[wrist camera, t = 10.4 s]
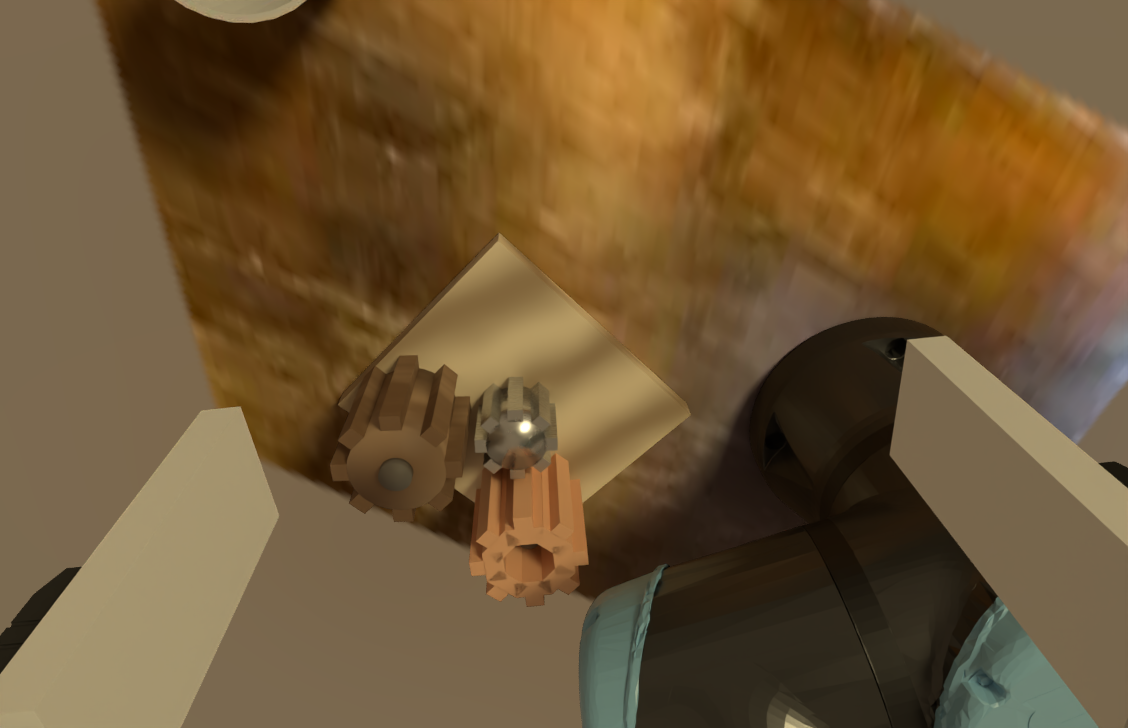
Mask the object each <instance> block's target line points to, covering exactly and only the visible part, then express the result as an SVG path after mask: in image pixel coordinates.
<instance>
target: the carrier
mask: <svg viewBox="0 0 1128 728" xmlns="http://www.w3.org/2000/svg"><path fill="white" fill-rule="evenodd" d="M405 355H418V362H419V368H420V369H425V370H428V371H431V372H433V373H436V372H437V371H438V370H439V369H440V368H441V367H442V366H443V365H444V364H445V365H446V366H448V367H449V368H450V369H451V370H453V371H454V372H455V373H456V374H458V377H457V382H456V388H455V396H470V403H471V415H470V423H469V430H468V438H467V446H466V453H465V461H464V468H463V476H462V477H461V478H456V480H455V487H454V488H455V489H456V490H457V491H459V492H460V493H462V494H463V495H464V496H466V497H467V498H469V499H470V500H471V501H473V502H474V503H475V498H476V489H481V481H482V471H483V469H484V468H485V467H484V466H483V461H484V453H475V441H474V440H475V431H476V423H477V414H478V406H479V405H483V397H484V391H485V390H486V389H487V388H489V387H490V386H491V385H492V384H493V383H495V384H496V385H497V386H498V387H500V388H501V389H504V388H506V387H508V382H509V377H523V386H524V387H528V388H530V389H531V388H532V387H533V386H534V385H536V384H537V383H538V382H540V383H541V384H542V385H543V386H544V387H546V388H547V389H548V390H549V403H555V407H556V422H557V437H558V451H551V457H552V456H553V455H554V454H555V453H557V454H558V455H560V456H561V457H563V458H564V459H566V460H567V461H568V463H569V475H570V480H575V479H580V486H581V495H582V503H583V502H584V501H586V500H587V499H588V498H589V497H591V496H592V495H593V494H594V493H595V492H597V491H598V490H599V489H600V488H602V487H603V486H604V485H605V484H606V483H608V482H609V481H610V480H611V479H613V478H614V477H615V476H616V475H618V474H619V473H620V472H621V471H622V470H624V469H625V468H626V467H627V466H629V465H630V464H631V463H632V462H633V461H635V460H636V459H637V458H638V457H640V456H641V455H642V454H643V453H644V452H646V451H647V450H648V449H649V448H651V447H652V446H653V445H654V444H656V443H657V442H658V441H659V440H660V439H662V438H663V437H664V436H665V435H667V434H668V433H669V432H670V431H671V430H673V429H674V428H675V427H676V426H678V425H679V424H680V423H681V422H683V421H684V420H685V419H686V418H687V417H689V416H690V415H691V414H690V411H689V409H688V406H687V403H686V402H685V401H684V400H683V399H681V398H680V397H679V396H678V395H677V394H676V393H675V392H674V391H673V390H672V389H670V388H669V387H668V386H667V385H666V384H665V383H664V382H663V381H662V380H661V379H659V378H658V377H657V376H656V375H655V374H654V373H653V372H652V371H651V370H650V369H648V368H647V367H646V366H645V365H644V364H643V363H642V362H641V361H640V360H639V359H638V358H636V357H635V356H634V355H633V354H632V353H631V352H630V351H629V350H628V349H627V348H625V347H624V346H623V345H622V344H621V343H620V342H619V341H618V340H617V339H616V338H614V337H613V336H612V335H611V334H610V333H609V332H608V331H607V330H606V329H605V328H603V327H602V326H601V325H600V324H599V323H598V322H597V321H596V320H595V319H594V318H592V317H591V316H590V315H589V314H588V313H587V312H586V311H585V310H584V309H583V308H581V307H580V306H579V305H578V304H577V303H576V302H575V301H574V300H573V299H572V298H571V297H569V296H568V295H567V294H566V293H565V292H564V291H563V290H562V289H561V288H560V287H558V286H557V285H556V284H555V283H554V282H553V281H552V280H551V279H550V278H549V277H547V276H546V275H545V274H544V273H543V272H542V271H541V270H540V269H539V268H538V267H536V266H535V265H534V264H533V263H532V262H531V261H530V260H529V259H528V258H527V257H525V256H524V255H523V254H522V253H521V252H520V251H519V250H518V249H517V248H516V247H514V246H513V245H512V244H511V243H510V242H509V241H508V240H507V239H506V238H505V237H504V236H502V235H501V234H500V233H498V234H497V235H496V236H495V237H494V238H493V239H492V240H491V241H490V242H489V243H488V245H487V246H486V247H485V248H484V249H483V250H482V251H481V252H480V253H479V254H478V255H477V256H476V257H475V258H474V259H473V260H472V261H471V262H470V263H469V264H468V265H467V266H466V267H465V268H464V269H463V270H462V271H461V272H460V273H459V274H458V275H457V276H456V277H455V278H454V279H453V281H452V282H451V283H450V284H449V285H448V286H447V287H446V288H445V289H444V290H443V291H442V292H441V293H440V294H439V295H438V296H437V297H436V298H435V299H434V300H433V301H432V302H431V303H430V304H429V305H428V306H427V307H426V308H425V309H424V310H423V311H422V312H421V313H420V314H419V315H418V316H417V318H416V319H415V320H414V321H413V322H412V323H411V324H410V325H409V326H408V327H407V328H406V329H405V330H404V331H403V332H402V333H401V334H400V335H399V336H398V337H397V338H396V339H395V340H394V341H393V342H392V343H391V344H390V345H389V346H388V347H387V348H386V349H385V350H384V351H383V352H382V354H381V355H380V356H379V357H378V358H377V359H376V360H375V361H374V362H373V363H372V364H371V365H370V366H369V367H368V368H367V369H366V370H365V371H364V372H363V373H362V374H361V375H360V376H359V377H358V378H357V379H356V380H355V381H354V382H353V383H352V384H351V385H350V386H349V387H348V388H347V390H346V391H345V392H344V393H343V394H342V397H341V399H340V401H339V403H338V406H340V407H341V408H343V409H344V410H345V411H347V412H348V413H349V412H350V409H351V407H352V405H353V402H354V400H355V397H356V395H357V393H358V390H359V388H360V385H361V383H362V381H363V378H364V376H365V375H366V374H367V373H368V372H369V371H370V370H371V369H372V368H373V367H374V366H376V367H378V368H379V369H380V370H382V371H383V372H384V373H386V374H388V373H390V372H392V371H394V370H395V368H396V365H397V362H398V359H399V356H405ZM519 546H520V547H522V548H524V549H533V548H535V547H537V546H538V544H528V545H519Z"/></svg>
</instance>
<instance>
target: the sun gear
mask: <svg viewBox="0 0 1128 728" xmlns="http://www.w3.org/2000/svg"><path fill="white" fill-rule="evenodd" d="M474 441H475V453H484V461H483V466H484V467H485V468H487V469H488V470H489V471H491V472H492V473H493V474H495V473H496V472H497V471H498V470H499V469H500V468H502V467H503V468H506V469H510V479H525V469H527V468H530V467H532V466H533V467H534V468H535V469H537V470H538V471H539V472H540V473H541V472H542V471H543V470H545V469H546V468H547V467H548V466H549V465H550V464H551V451H558V437H557V422H556V407H555V403H549V390H548V389H547V388H546V387H544V386H543V385H542V384H541V383H540V382H538V383H537V384H536V385H534V386H533V387H532V388H531V389H530V388H528V387H524V386H523V377H509V382H508V387H506V388H504V389H501V388H500V387H498V386H497V385H496V384H495V383H493V384H492V385H491V386H490V387H489V388H487V389H486V390H485V391H484V397H483V405H479V406H478V414H477V423H476V431H475V440H474Z"/></svg>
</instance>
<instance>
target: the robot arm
mask: <svg viewBox="0 0 1128 728" xmlns="http://www.w3.org/2000/svg"><path fill="white" fill-rule="evenodd" d="M750 444H751V448H752V452H753V455H754V458H755V460H756V462H757V465H758V467H759V469H760V471H761V473H762V475H763V477H764V479H765V481H766V482H767V484H768V486H769V487H770V488H771V490H772V491H773V492H774V493H775V495H776V496H777V497H778V498H779V499H780V500H781V501H782V502H783V503H784V504H786V505H787V506H788V507H789V508H791V509H792V510H793V511H794V512H796V513H797V514H798V515H799V516H801V517H802V518H803V519H804V520H806V521H807V522H808V523H809V524H807V525H804V526H799V527H795V528H792V529H789V530H786V531H783V532H780V533H777V534H774V535H771V536H768V537H765V538H762V539H759V540H755V541H752V542H749V543H746V544H743V545H740V546H737V547H734V548H730V549H727V550H724V551H721V552H717V553H714V554H711V555H707V556H704V557H701V558H698V559H694V560H691V561H688V562H684V563H681V564H678V565H674V566H671V567H670V566H669V565H668V564H664V565H660V566H658V567H657V568H656V569H655V570H654V571H653V572H651V573H649V574H646V575H643V576H641V577H638V578H635V579H633V580H630V581H627V582H625V583H622V584H619V585H617V586H614V587H611V588H609V589H607V590H605V591H604V592H603V593H601V594H600V595H599V596H598V597H597V598H596V599H595V600H594V602H593V603H592V605H591V606H590V608H589V610H588V612H587V614H586V617H585V621H584V624H583V629H582V637H581V642H580V652H579V691H580V692H579V694H580V708H581V719H582V727H583V728H1128V468H1127V467H1125V466H1123V465H1121V464H1119V463H1117V462H1105V463H1097V462H1096V461H1095V460H1093V459H1092V458H1091V457H1090V456H1088V454H1086V453H1085V452H1084V451H1083V450H1081V449H1080V448H1079V447H1078V446H1077V445H1076V444H1074V443H1073V442H1072V441H1071V440H1070V439H1068V438H1067V437H1066V436H1065V435H1064V434H1063V433H1061V432H1060V431H1059V430H1058V429H1057V428H1055V427H1054V426H1053V425H1052V424H1051V423H1049V422H1048V421H1047V420H1046V419H1045V418H1044V417H1042V416H1041V415H1040V414H1039V413H1038V412H1036V411H1035V410H1034V409H1033V408H1032V407H1030V406H1029V405H1028V404H1027V403H1026V402H1024V401H1023V400H1022V399H1021V398H1020V397H1019V396H1017V395H1016V394H1015V393H1014V392H1013V391H1011V390H1010V389H1009V388H1008V387H1007V386H1005V385H1004V384H1003V383H1002V382H1001V381H999V380H998V379H997V378H996V377H995V376H994V375H992V374H991V373H990V372H989V371H988V370H986V369H985V368H984V367H983V366H982V365H980V364H979V363H978V362H977V361H976V360H975V359H973V358H972V357H971V356H970V355H969V354H967V353H966V352H965V351H964V350H963V349H961V348H960V347H959V346H958V345H957V344H955V343H954V342H953V341H952V340H951V339H950V338H948V337H947V336H944V335H942V334H941V333H940V332H938V331H936V330H935V329H933V328H931V327H929V326H927V325H924V324H922V323H919V322H916V321H912V320H908V319H902V318H893V317H876V318H866V319H860V320H855V321H851V322H848V323H844V324H841V325H838V326H835V327H833V328H830V329H828V330H826V331H824V332H822V333H820V334H818V335H816V336H814V337H812V338H811V339H809V340H807V341H806V342H804V343H803V344H801V345H800V346H799V347H797V348H796V349H795V350H793V351H792V352H791V353H790V354H789V355H788V356H787V357H785V358H784V359H783V360H782V361H781V362H780V364H779V365H778V366H777V367H776V368H775V369H774V370H773V372H772V373H771V374H770V376H769V377H768V378H767V380H766V381H765V383H764V385H763V386H762V388H761V390H760V392H759V394H758V396H757V399H756V401H755V404H754V407H753V410H752V414H751V420H750ZM278 518H279V514H278V511H277V508H276V506H275V502H274V500H273V497H272V494H271V491H270V488H269V486H268V483H267V480H266V477H265V475H264V472H263V469H262V466H261V463H260V460H259V458H258V455H257V452H256V449H255V446H254V444H253V441H252V438H251V435H250V432H249V430H248V427H247V424H246V421H245V418H244V416H243V413H242V410H241V407H232V408H222V409H212V410H204V411H203V410H202V411H201V412H200V413H199V415H198V416H197V417H196V419H195V420H194V421H193V422H192V424H191V425H190V426H189V428H188V429H187V430H186V432H185V433H184V434H183V436H182V437H181V438H180V439H179V441H178V442H177V444H176V445H175V446H174V447H173V449H172V450H171V451H170V452H169V454H168V455H167V456H166V458H165V459H164V460H163V462H162V463H161V464H160V466H159V467H158V468H157V470H156V471H155V472H154V474H153V475H152V476H151V478H150V479H149V480H148V481H147V483H146V484H145V486H144V487H143V488H142V489H141V491H140V492H139V493H138V494H137V496H136V497H135V498H134V500H133V501H132V502H131V504H130V505H129V506H128V507H127V509H126V510H125V511H124V513H123V514H122V515H121V517H120V518H119V519H118V521H117V522H116V523H115V525H114V526H113V527H112V528H111V530H110V531H109V532H108V534H107V535H106V536H105V538H104V539H103V540H102V542H101V543H100V544H99V545H98V547H97V548H96V549H95V551H94V552H93V553H92V555H91V556H90V557H89V559H88V560H87V561H86V562H85V564H84V565H83V566H82V567H75V568H66V569H65V570H64V571H63V572H61V573H60V574H59V575H57V576H56V577H55V578H54V579H52V580H51V581H50V582H49V583H47V584H46V585H45V586H43V587H42V588H41V589H40V590H38V591H37V592H36V593H35V594H34V595H33V596H32V597H31V598H30V600H29V601H28V602H27V603H26V604H25V606H24V607H23V608H22V609H21V611H20V612H19V613H18V614H17V616H16V617H15V618H14V619H13V621H12V622H11V623H12V625H11V627H10V628H6V629H5V631H4V632H3V633H2V634H1V636H0V728H181V726H182V724H183V721H184V719H185V717H186V715H187V713H188V711H189V709H190V706H191V704H192V702H193V700H194V698H195V696H196V693H197V691H198V689H199V687H200V685H201V683H202V681H203V679H204V676H205V674H206V672H207V670H208V668H209V666H210V664H211V661H212V659H213V657H214V655H215V653H216V650H217V649H218V646H219V644H220V642H221V640H222V638H223V635H224V634H225V631H226V629H227V627H228V625H229V623H230V621H231V619H232V616H233V614H234V612H235V610H236V608H237V606H238V604H239V601H240V599H241V597H242V595H243V593H244V590H245V588H246V586H247V584H248V582H249V580H250V578H251V576H252V573H253V571H254V569H255V567H256V565H257V563H258V561H259V558H260V556H261V554H262V552H263V550H264V548H265V545H266V543H267V541H268V539H269V537H270V535H271V533H272V530H273V528H274V526H275V524H276V522H277V520H278Z"/></svg>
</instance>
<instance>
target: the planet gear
mask: <svg viewBox="0 0 1128 728" xmlns="http://www.w3.org/2000/svg"><path fill="white" fill-rule="evenodd" d="M528 544H538V546H537V547H535V548H533V549H524V548H522V547H520V546H519V545H528ZM469 565H470V570H471V575H472V576H478V575H486V578H487V588H486V594H487V595H489V596H491V597H493V598H494V599H496V600H498V601H500V602H501V601H502V600H503V599H504V598H505V597H506V596H507V595H508V594H510V595H512V596H514V597H516V598H520V597H525V598H526V605H527V607H531V606H541V605H544V595H550V594H553V593H554V592H555V591H556V590H557V589H559V590H561V591H562V592H564V593H566V594H568V595H569V594H570V593H571V592H572V591H574V590H575V589H576V588H577V587H578V586H579V585H580V578H579V567H578V566H579V565H589V562H588V552H587V542H586V533H585V523H584V514H583V504H582V495H581V486H580V479H575V480H570V475H569V463H568V461H567V460H566V459H564V458H563V457H561V456H560V455H558V454H557V453H555V454H554V455H553V456H552V457H551V464H550V465H549V466H548V467H547V468H546V469H545V470H543V471H542V472H541V473H540V472H539V471H538V470H537V469H535V468H534V467H533V466H532V467H530V468H527V469H525V479H510V469H506V468H503V467H502V468H500V469H499V470H498V471H497V472H496V473H495V474H493V473H492V472H491V471H489V470H488V469H487V468H484V469H483V471H482V481H481V489H476V498H475V508H474V518H473V528H472V537H471V547H470V558H469Z"/></svg>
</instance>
